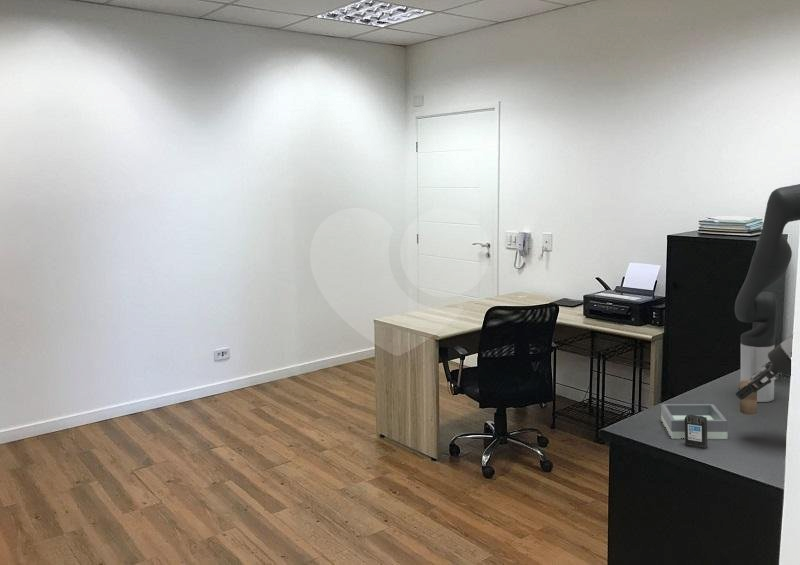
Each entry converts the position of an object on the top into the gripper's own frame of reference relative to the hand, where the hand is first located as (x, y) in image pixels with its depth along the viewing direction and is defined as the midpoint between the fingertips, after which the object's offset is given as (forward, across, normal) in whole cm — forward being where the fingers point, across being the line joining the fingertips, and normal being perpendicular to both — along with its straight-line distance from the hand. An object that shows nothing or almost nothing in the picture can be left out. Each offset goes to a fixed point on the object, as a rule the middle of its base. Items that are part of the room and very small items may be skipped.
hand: (740, 394), depth 177 cm
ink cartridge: (+15, +11, +2) cm, 18 cm away
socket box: (+17, -1, 0) cm, 17 cm away
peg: (+2, 0, +5) cm, 5 cm away
